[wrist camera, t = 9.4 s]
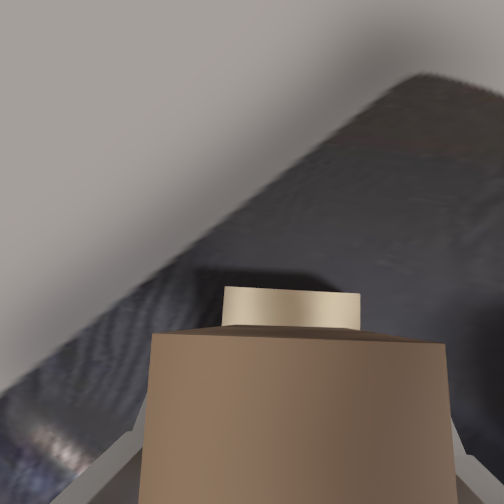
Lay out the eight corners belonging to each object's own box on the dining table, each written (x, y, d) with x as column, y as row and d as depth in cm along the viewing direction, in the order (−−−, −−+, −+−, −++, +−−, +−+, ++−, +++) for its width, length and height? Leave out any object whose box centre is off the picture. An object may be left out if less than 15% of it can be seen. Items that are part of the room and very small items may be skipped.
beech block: (223, 413, 27) (213, 428, 24) (233, 290, 29) (224, 286, 26) (349, 425, 26) (359, 443, 22) (350, 297, 28) (360, 293, 24)
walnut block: (232, 440, 15) (123, 671, 5) (236, 324, 16) (152, 333, 6) (347, 448, 14) (475, 724, 5) (345, 328, 15) (444, 343, 6)
